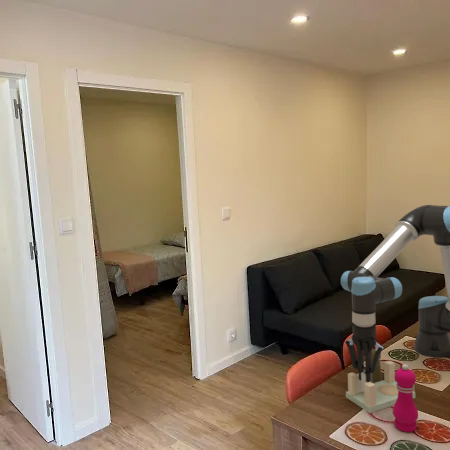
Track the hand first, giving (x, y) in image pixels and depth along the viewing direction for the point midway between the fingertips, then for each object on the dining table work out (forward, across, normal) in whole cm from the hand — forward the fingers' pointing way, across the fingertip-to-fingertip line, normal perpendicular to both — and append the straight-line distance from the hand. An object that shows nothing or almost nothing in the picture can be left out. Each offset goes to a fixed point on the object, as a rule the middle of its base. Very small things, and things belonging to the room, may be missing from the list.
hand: (365, 389), depth 154 cm
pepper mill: (+4, -16, +8) cm, 18 cm away
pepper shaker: (+4, +4, -18) cm, 18 cm away
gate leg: (+2, +3, -1) cm, 4 cm away
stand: (+4, -3, -5) cm, 7 cm away
